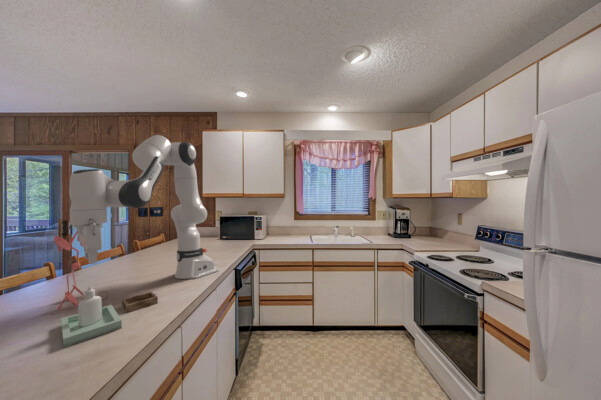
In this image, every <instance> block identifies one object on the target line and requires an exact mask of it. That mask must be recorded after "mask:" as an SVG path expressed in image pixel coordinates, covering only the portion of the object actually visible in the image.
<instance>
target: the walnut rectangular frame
mask: <svg viewBox="0 0 601 400" xmlns="http://www.w3.org/2000/svg"><path fill="white" fill-rule="evenodd" d="M158 300H159V299H158V296H157V294H155V293H154V292H153V291H148V292H144V293H141V294H137V295H134V296H130V297H129V296H128V297H126V298H122V299H121V308H122V309H123V310H124V311H125V313H129V312H132V311H133V312H134V311H137V310H140V309H143V308H146V307H149V306H152V305H156V304H158V302H159V301H158Z"/></svg>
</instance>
